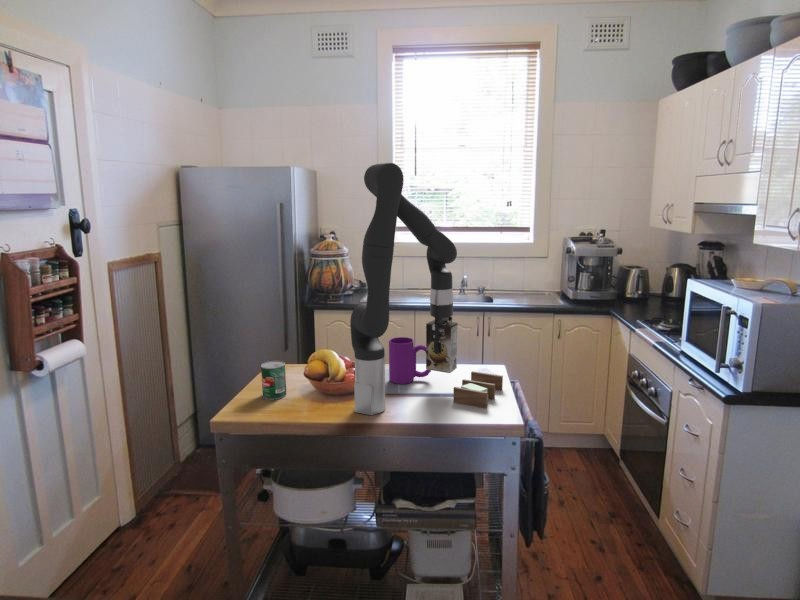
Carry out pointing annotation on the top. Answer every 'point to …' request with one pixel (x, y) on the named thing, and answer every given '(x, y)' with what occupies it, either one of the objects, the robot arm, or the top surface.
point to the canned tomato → (273, 380)
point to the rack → (476, 396)
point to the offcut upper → (474, 387)
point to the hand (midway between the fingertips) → (441, 349)
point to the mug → (404, 360)
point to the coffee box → (442, 349)
